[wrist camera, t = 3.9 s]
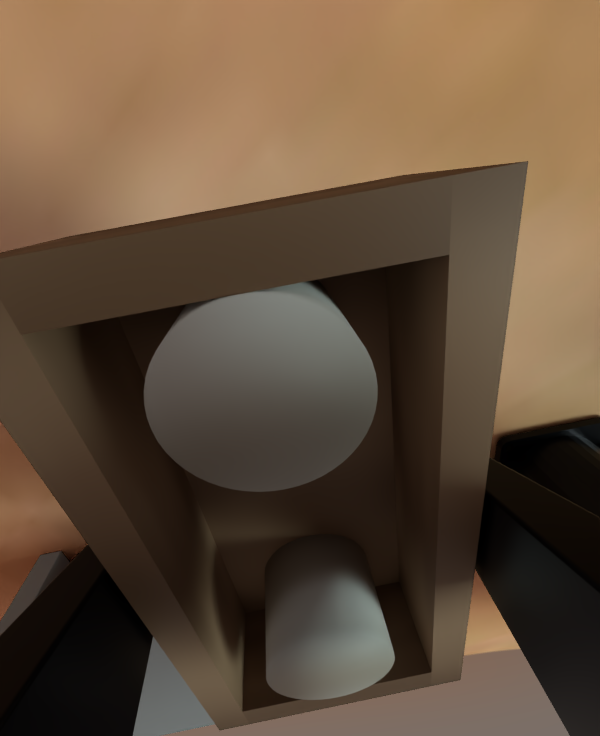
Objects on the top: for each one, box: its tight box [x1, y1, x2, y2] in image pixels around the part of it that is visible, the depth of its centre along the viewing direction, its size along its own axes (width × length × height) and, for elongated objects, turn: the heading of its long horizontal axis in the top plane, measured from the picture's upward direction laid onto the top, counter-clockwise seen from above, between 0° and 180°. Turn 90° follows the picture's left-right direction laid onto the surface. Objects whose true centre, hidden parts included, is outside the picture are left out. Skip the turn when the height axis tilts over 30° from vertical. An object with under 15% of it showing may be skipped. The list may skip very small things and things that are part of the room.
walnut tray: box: [0, 161, 528, 730], centre depth 8 cm, size 12×6×4 cm, turn 9°
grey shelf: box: [0, 551, 215, 736], centre depth 20 cm, size 17×10×6 cm, turn 99°
